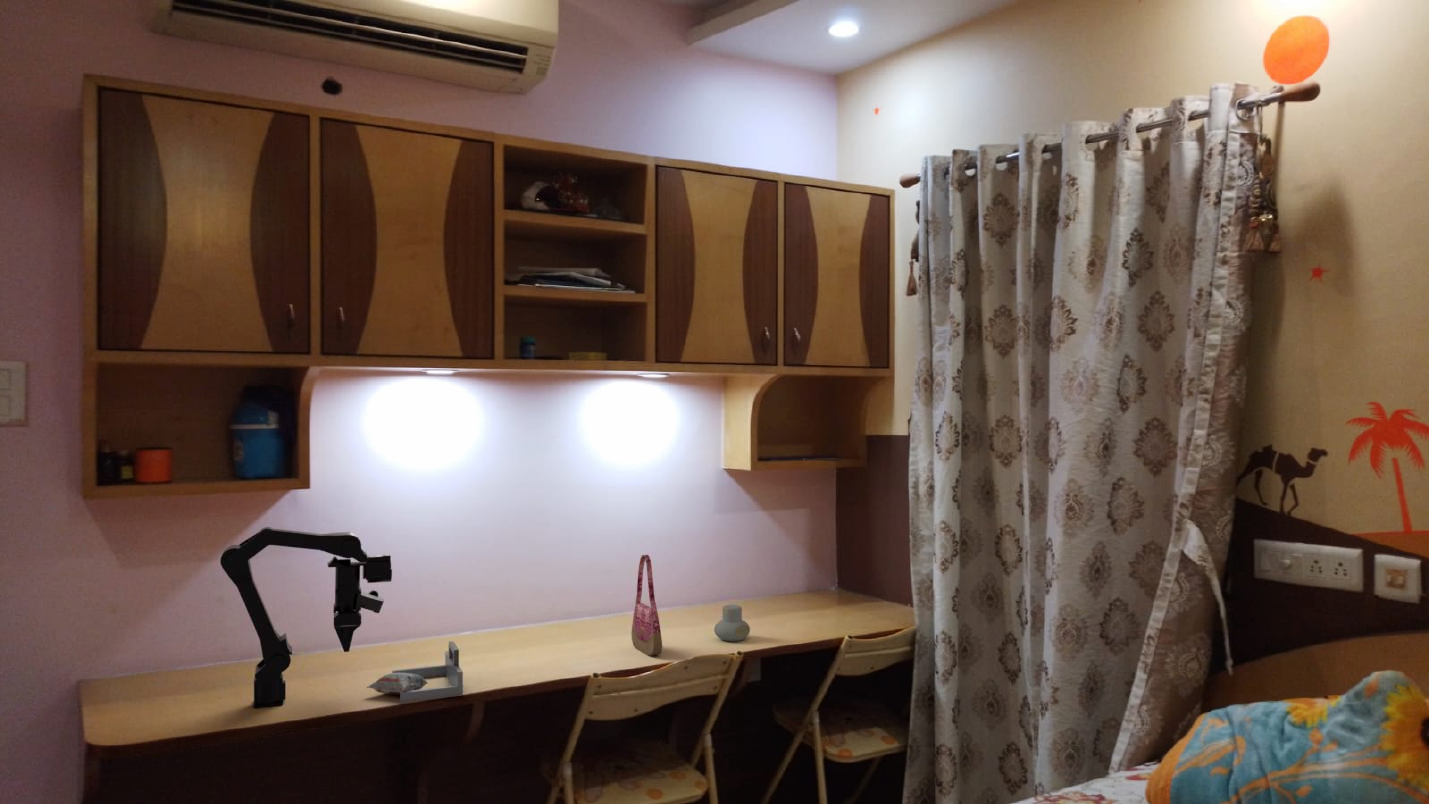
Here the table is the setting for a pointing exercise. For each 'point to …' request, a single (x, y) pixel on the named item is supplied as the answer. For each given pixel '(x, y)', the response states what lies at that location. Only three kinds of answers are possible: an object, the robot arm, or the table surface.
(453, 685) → the grey u-shaped frame
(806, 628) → the table surface
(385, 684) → the packaged food
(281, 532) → the robot arm
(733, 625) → the air freshener
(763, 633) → the table surface
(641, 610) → the shoulder bag
